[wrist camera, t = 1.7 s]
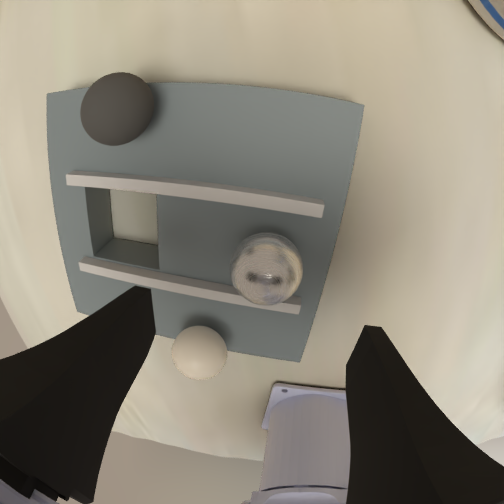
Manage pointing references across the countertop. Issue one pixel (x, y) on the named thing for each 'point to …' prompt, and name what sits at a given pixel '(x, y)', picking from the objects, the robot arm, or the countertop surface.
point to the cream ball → (199, 352)
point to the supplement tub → (491, 13)
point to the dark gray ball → (117, 109)
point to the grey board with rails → (207, 204)
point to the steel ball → (266, 268)
